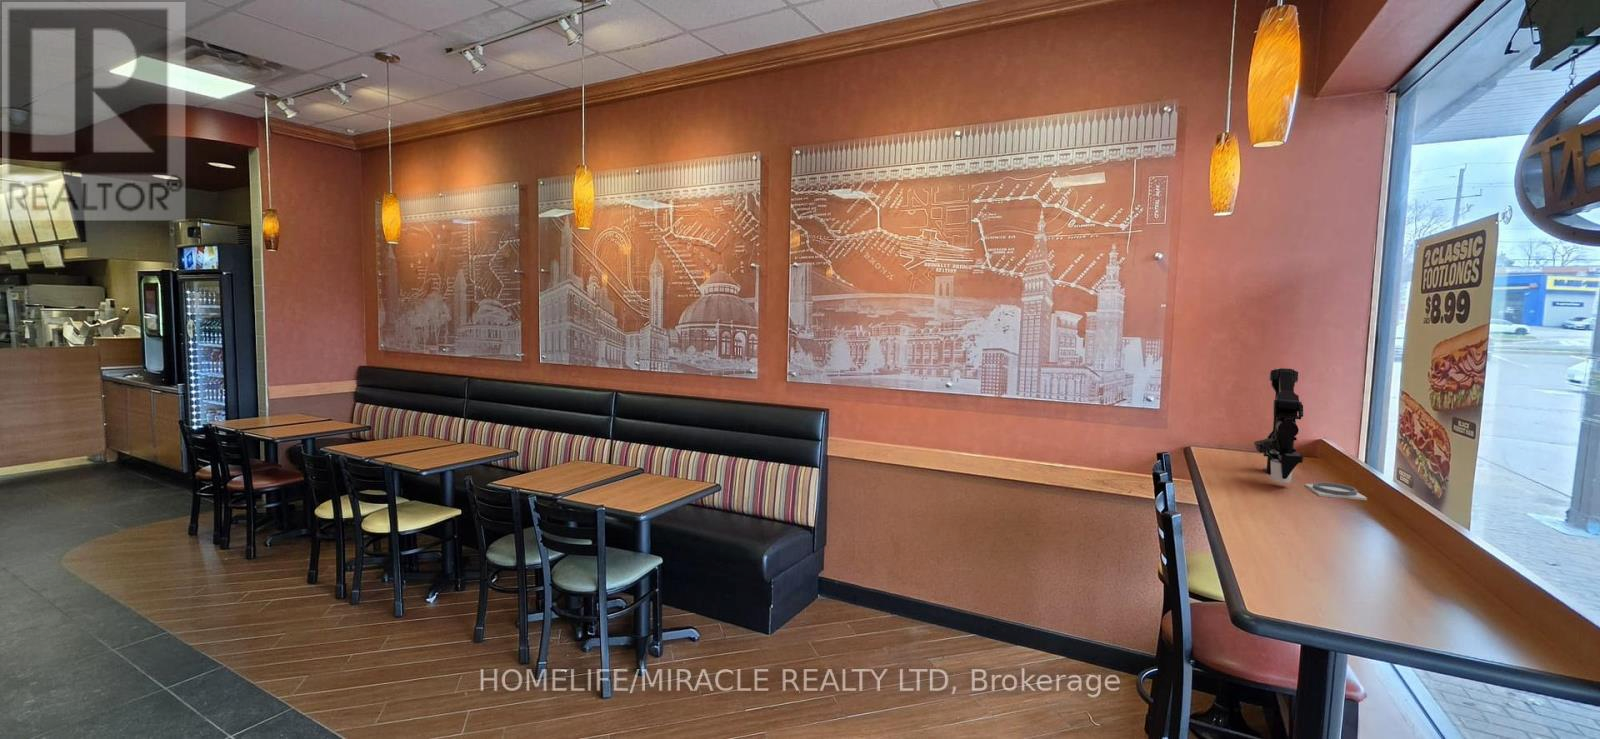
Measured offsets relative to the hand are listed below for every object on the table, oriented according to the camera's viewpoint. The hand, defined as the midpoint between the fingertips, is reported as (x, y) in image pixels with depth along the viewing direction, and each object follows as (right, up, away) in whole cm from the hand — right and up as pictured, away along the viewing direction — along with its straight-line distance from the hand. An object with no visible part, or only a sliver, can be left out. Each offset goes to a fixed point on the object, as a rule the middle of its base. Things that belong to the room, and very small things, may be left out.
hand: (1280, 476), depth 233 cm
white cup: (0, -2, 0) cm, 2 cm away
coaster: (+14, -5, -7) cm, 16 cm away
